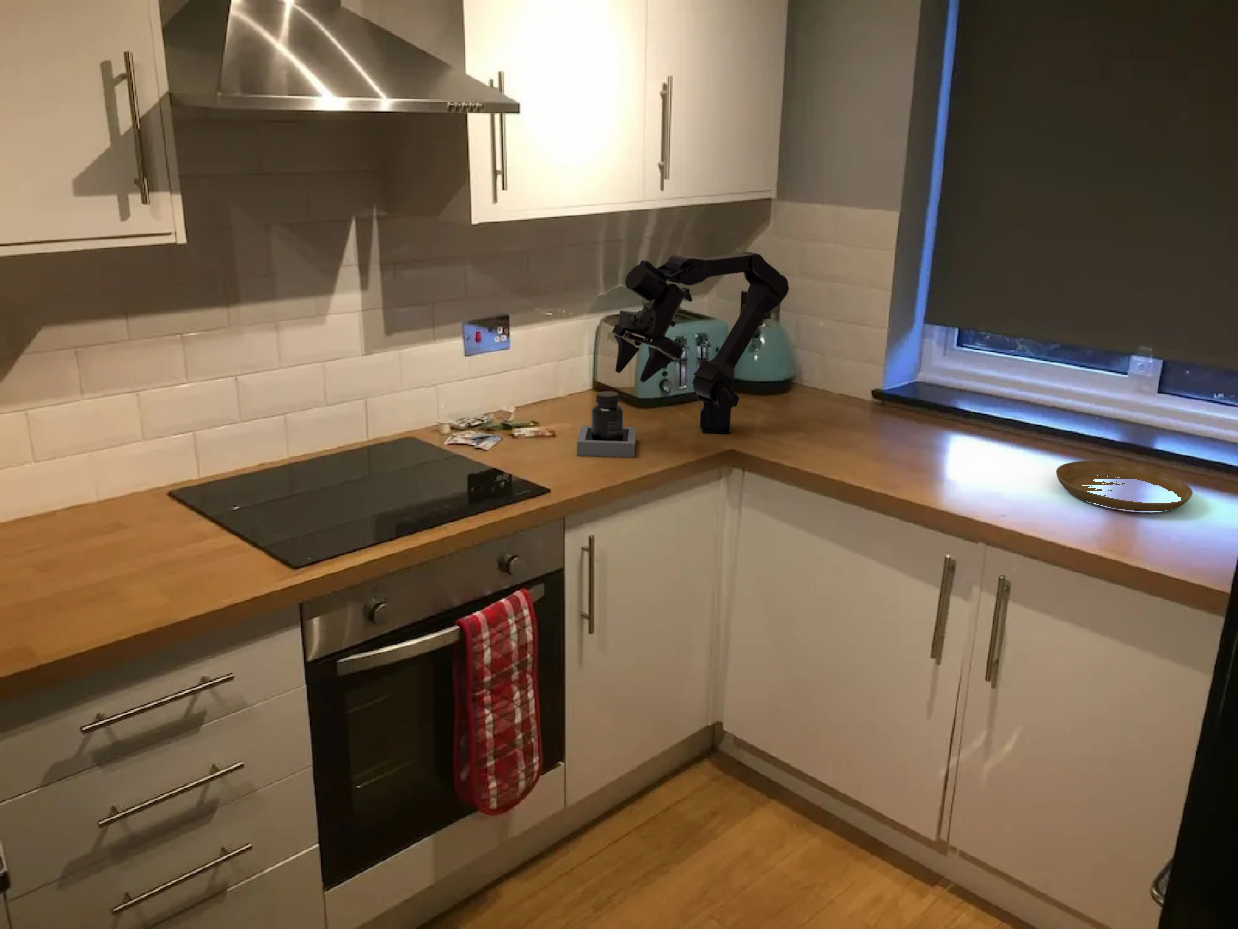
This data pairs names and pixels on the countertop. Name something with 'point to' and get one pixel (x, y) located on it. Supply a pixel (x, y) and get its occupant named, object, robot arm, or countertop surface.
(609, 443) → the holder
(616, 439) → the supplement bottle
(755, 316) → the robot arm
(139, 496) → the countertop surface
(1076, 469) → the plant saucer
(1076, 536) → the countertop surface
